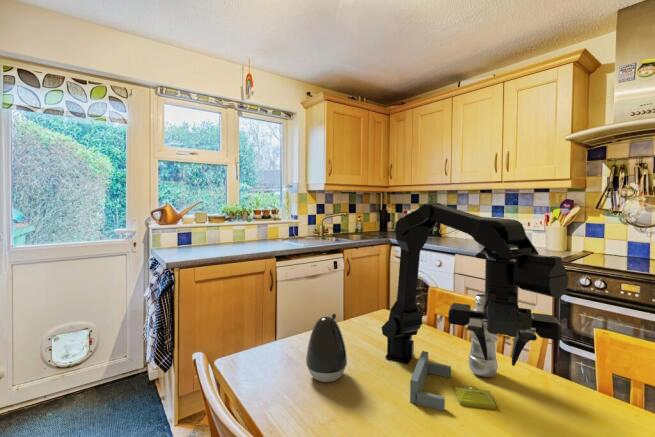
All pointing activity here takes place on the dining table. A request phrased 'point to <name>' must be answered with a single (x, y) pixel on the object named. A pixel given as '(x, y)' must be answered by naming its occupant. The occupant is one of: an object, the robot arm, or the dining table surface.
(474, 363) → the plastic bottle
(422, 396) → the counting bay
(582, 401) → the dining table surface
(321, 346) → the dark grey egg shape
